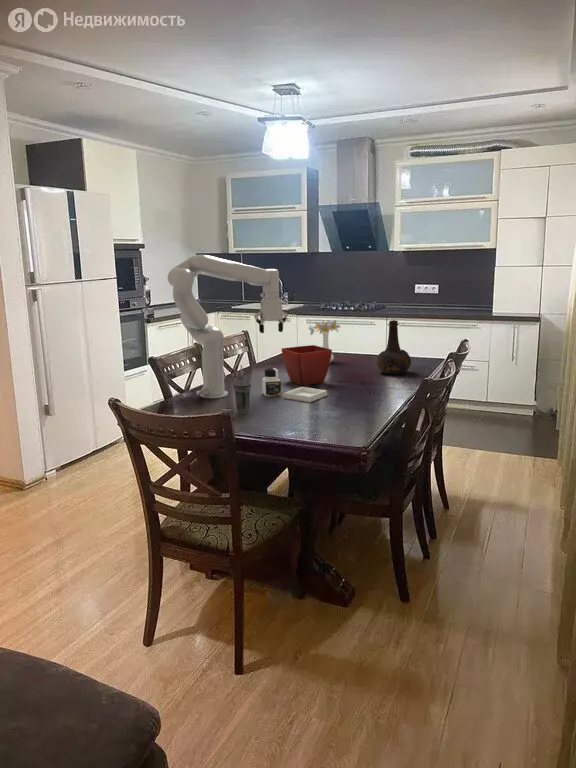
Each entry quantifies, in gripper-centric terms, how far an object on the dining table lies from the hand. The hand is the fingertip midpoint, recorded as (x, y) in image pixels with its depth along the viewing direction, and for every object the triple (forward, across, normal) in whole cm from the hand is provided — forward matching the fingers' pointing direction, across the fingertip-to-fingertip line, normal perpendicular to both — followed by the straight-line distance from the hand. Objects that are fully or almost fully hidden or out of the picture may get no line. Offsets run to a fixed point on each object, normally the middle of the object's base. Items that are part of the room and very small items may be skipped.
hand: (271, 332), depth 275 cm
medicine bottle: (+27, -6, -13) cm, 31 cm away
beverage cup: (+27, -29, -36) cm, 54 cm away
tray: (+27, +5, -26) cm, 37 cm away
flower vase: (+26, +53, +42) cm, 72 cm away
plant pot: (+27, +20, +2) cm, 33 cm away
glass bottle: (+26, +70, -3) cm, 74 cm away
